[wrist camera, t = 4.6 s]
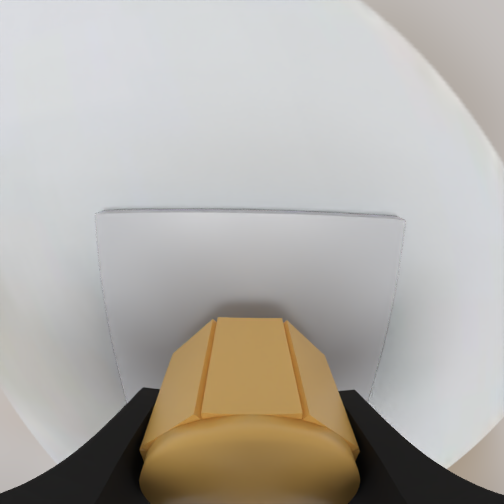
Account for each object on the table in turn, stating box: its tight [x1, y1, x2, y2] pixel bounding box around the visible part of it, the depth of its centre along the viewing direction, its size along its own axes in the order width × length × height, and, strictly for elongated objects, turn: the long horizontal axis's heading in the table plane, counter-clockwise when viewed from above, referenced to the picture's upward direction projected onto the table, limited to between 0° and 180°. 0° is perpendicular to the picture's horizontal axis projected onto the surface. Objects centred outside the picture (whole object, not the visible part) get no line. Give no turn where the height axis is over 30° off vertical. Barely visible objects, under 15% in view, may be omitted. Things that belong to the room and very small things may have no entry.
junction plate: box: [95, 209, 406, 403], centre depth 10 cm, size 11×11×4 cm
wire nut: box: [139, 317, 360, 504], centre depth 7 cm, size 5×5×5 cm
